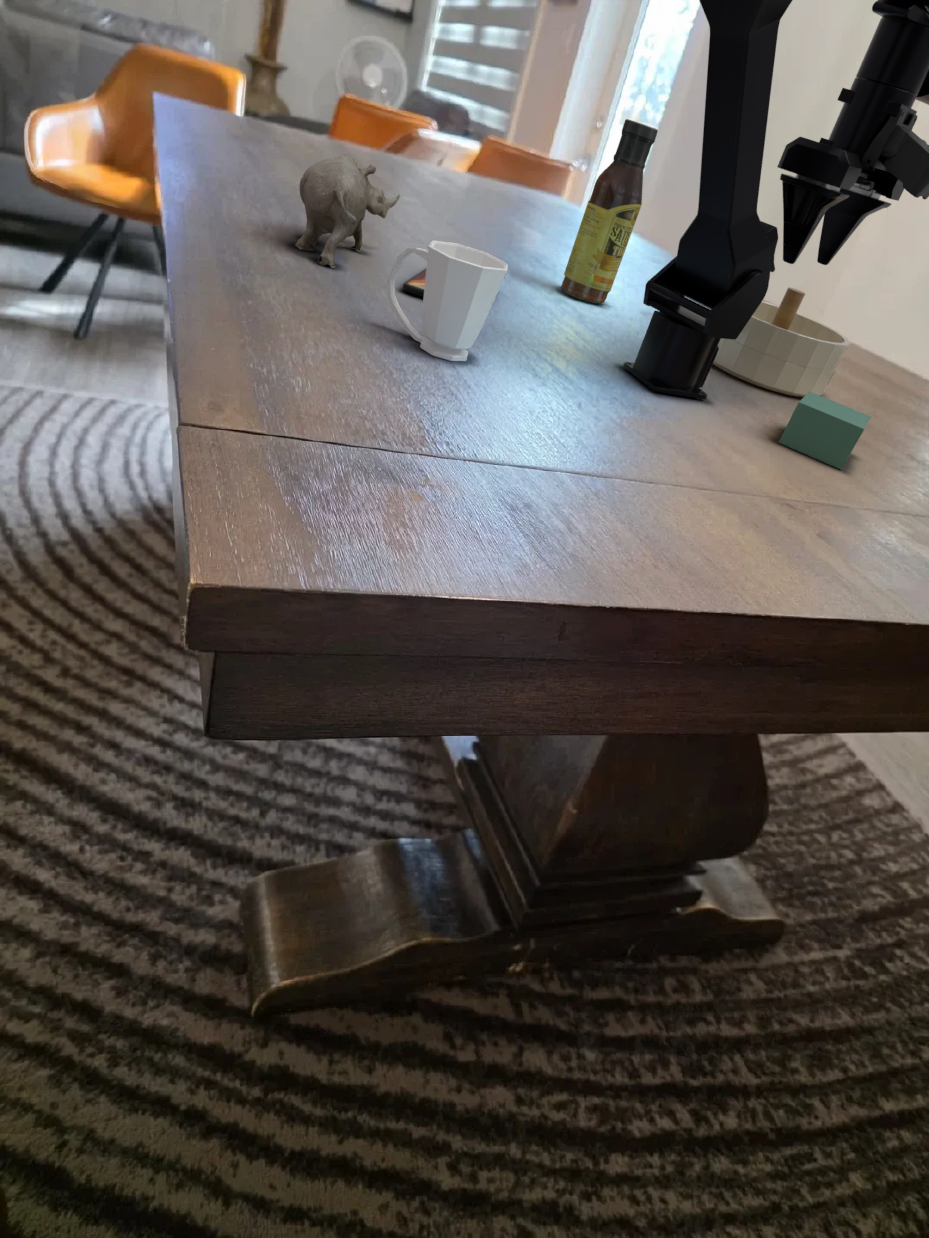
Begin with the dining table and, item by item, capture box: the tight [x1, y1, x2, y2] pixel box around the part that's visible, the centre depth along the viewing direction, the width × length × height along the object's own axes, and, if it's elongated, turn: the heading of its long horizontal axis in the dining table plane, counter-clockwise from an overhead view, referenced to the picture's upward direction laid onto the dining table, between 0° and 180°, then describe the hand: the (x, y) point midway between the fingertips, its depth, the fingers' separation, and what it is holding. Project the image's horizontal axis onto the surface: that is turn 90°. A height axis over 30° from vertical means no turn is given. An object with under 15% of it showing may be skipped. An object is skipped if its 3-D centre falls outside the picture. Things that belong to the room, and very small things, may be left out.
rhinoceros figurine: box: [294, 154, 401, 269], centre depth 90 cm, size 8×14×15 cm
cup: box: [386, 239, 509, 362], centre depth 72 cm, size 7×10×8 cm
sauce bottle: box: [560, 118, 659, 305], centre depth 104 cm, size 6×6×20 cm
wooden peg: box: [771, 287, 806, 330], centre depth 98 cm, size 3×3×9 cm
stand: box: [778, 392, 872, 471], centre depth 79 cm, size 6×6×4 cm
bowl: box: [712, 300, 851, 398], centre depth 99 cm, size 15×15×6 cm
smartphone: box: [402, 268, 426, 298], centre depth 92 cm, size 8×1×15 cm
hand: (805, 263), depth 87 cm, fingers open, 9 cm apart
